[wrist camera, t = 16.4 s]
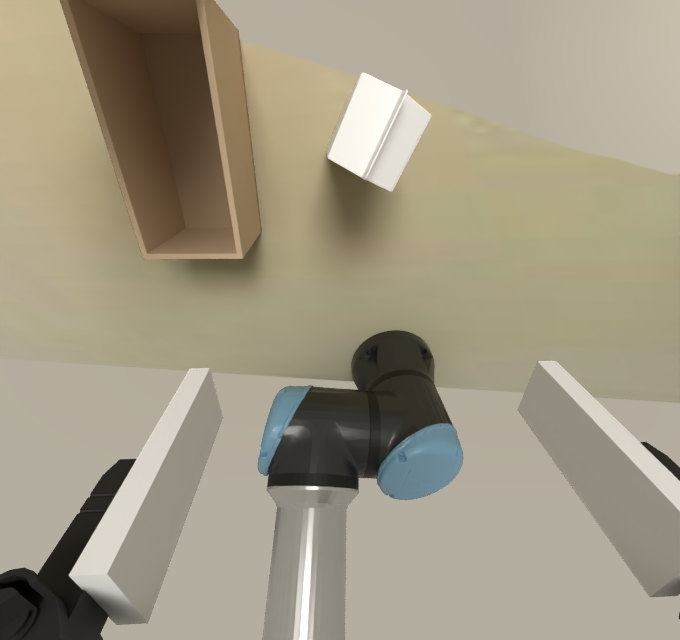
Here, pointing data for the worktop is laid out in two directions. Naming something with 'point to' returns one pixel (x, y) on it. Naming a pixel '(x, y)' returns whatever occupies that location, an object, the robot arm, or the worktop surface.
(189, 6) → the carton
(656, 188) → the worktop surface
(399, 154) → the milk
